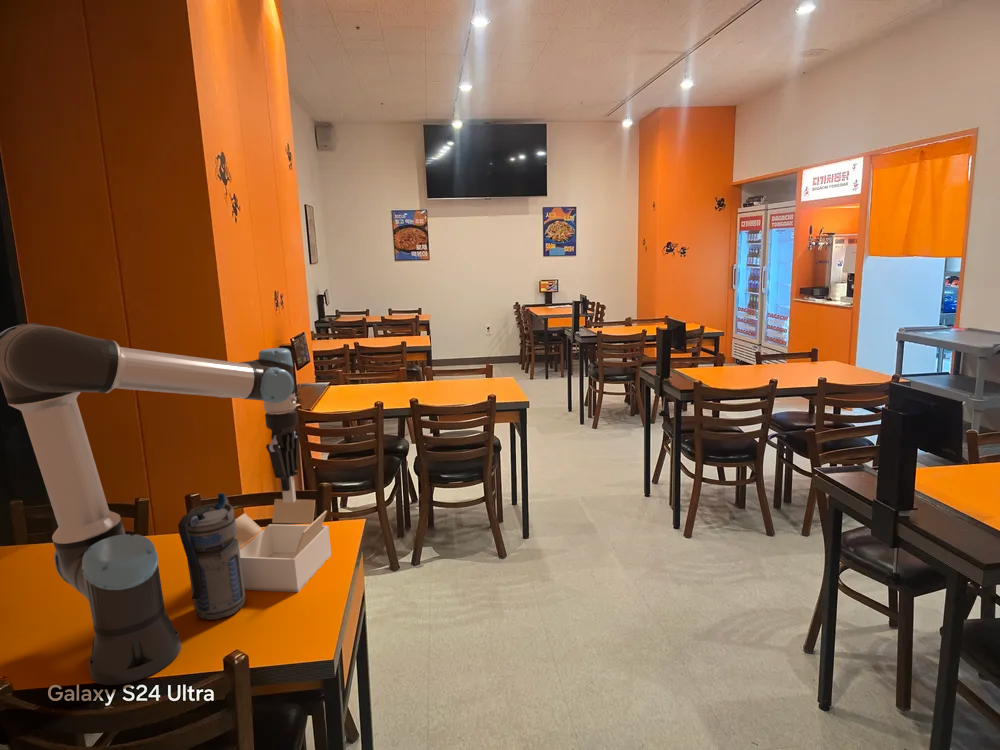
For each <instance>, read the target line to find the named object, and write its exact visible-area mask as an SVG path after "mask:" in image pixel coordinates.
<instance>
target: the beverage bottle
mask: <svg viewBox="0 0 1000 750" xmlns="http://www.w3.org/2000/svg"><path fill="white" fill-rule="evenodd" d="M217 497H218V499H217V500H218V501H217V503H209V504H205V505H201V506H197V507H195V508H192V509H190V510H189V511H188V513H186V514H183V516H182V517H181V519H180V520H179V522H178V524H177V528H178V534H179V537H180V538H179V539H180V540H181V543H182V544H181V545H182V547H183V551H184V553H185V555H186V559H187V567H188V573H189V580H190V587H191V595H192V597H191V600H193V601H192V602H193V608H194V613H195V614H196V615H197V616H198V617H199V618H201V619H203V620H209V621H210V620H219V619H222V618H226V617H228V616H231V615H233V614H235V613H237V612H238V611H239V610H240V609H242V608H243V606H244V604H245V601H246V592H245V591H246V590H244V583H243V575H242V567H241V560H240V552H239V549H240V548H239V544H238V541H237V539H235V538H234V537H235V535H236V533H237V529H236V522H235V520H236V515H235V511H234V507H233V505H231V504H230V501H229V499H228V497H227V495H226V494H225V493H223V492H219V493H217Z"/></svg>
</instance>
